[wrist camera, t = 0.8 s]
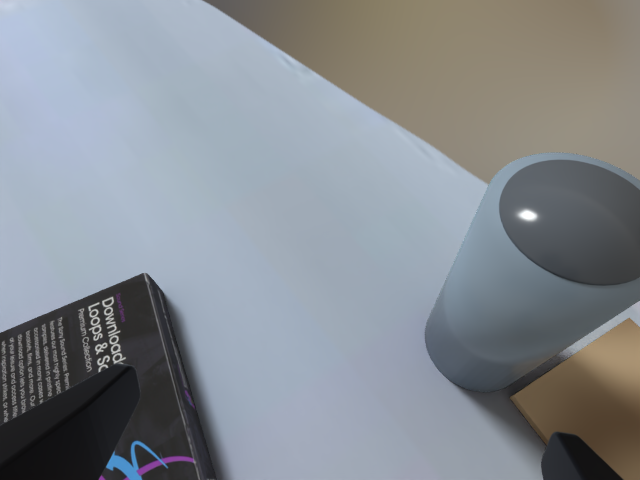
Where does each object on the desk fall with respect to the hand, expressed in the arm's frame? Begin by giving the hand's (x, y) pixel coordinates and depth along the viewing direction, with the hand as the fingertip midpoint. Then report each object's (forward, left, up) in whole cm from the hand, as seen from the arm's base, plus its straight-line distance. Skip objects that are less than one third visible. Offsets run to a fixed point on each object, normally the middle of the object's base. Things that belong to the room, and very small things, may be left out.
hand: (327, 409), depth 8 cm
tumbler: (+1, -10, -15) cm, 18 cm away
